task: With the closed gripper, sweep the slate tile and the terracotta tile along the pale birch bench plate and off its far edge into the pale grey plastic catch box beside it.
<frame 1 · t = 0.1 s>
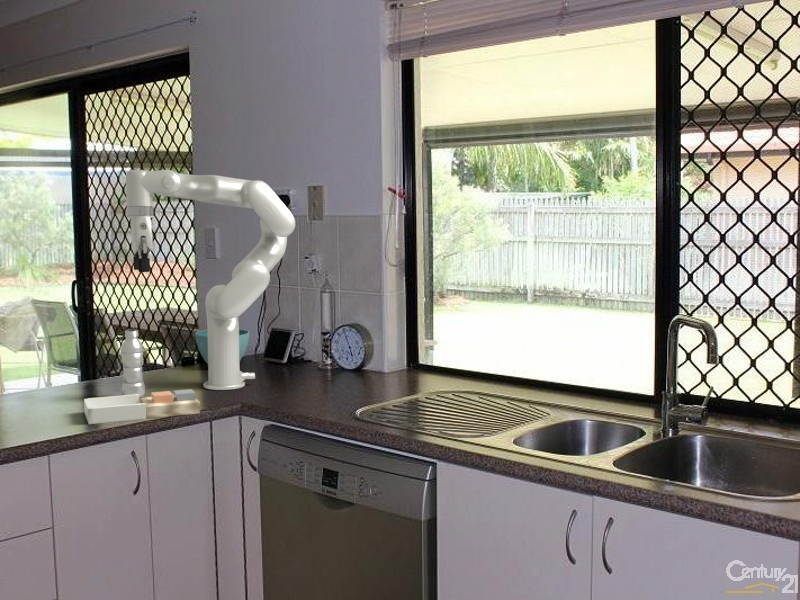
hand: (141, 270, 259), 37 cm above the worktop, tool pointing down, fingers open, 9 cm apart
teal bowl: (223, 367, 305), on the worktop
bench plate: (170, 410, 241), on the worktop
catch box: (114, 415, 235), on the worktop
plastic bottle: (133, 398, 256), on the worktop
slate tile: (184, 398, 242), point 3 cm above the worktop, touching bench plate
terracotta tile: (162, 400, 240), point 3 cm above the worktop, touching bench plate
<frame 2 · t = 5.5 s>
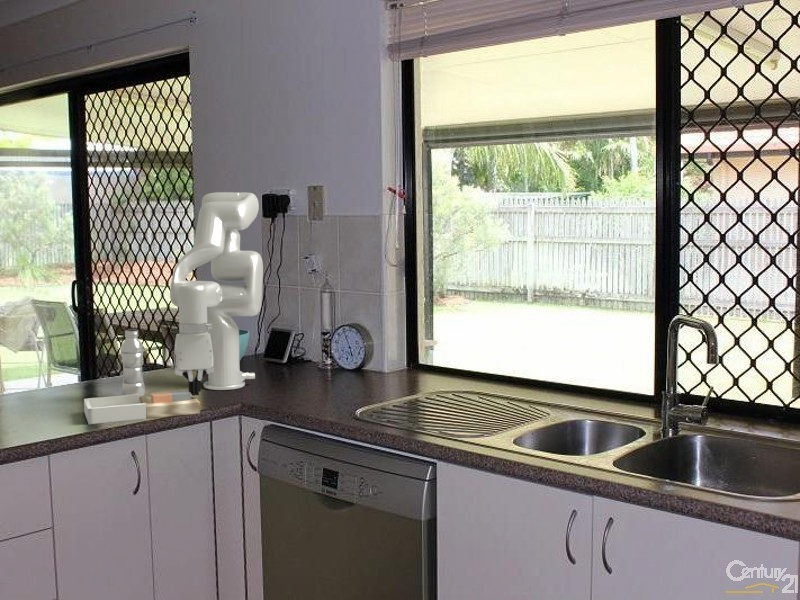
hand: (194, 394, 243), 4 cm above the worktop, tool pointing down, fingers closed
slate tile: (180, 399, 242), point 3 cm above the worktop, touching bench plate, gripper
everything else where it was.
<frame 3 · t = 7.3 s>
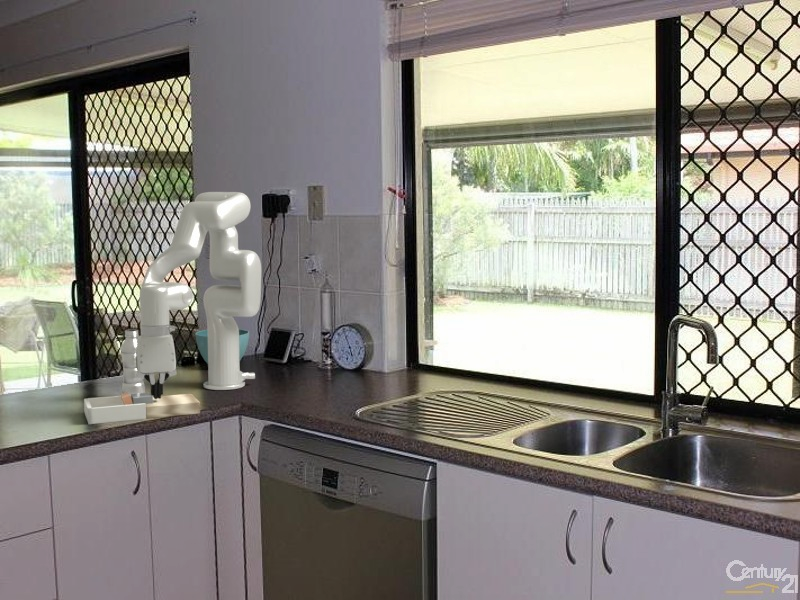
hand: (157, 397, 239), 4 cm above the worktop, tool pointing down, fingers closed
slate tile: (141, 402, 237), point 3 cm above the worktop, touching bench plate, gripper
terracotta tile: (131, 401, 236), point 3 cm above the worktop, tilted 106°, touching catch box
everything else where it was.
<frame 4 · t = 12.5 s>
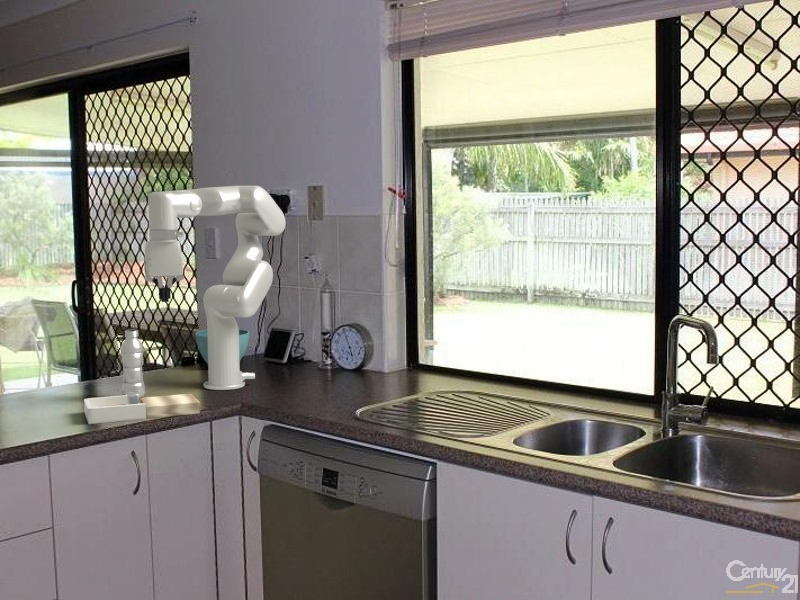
hand: (164, 301, 247), 29 cm above the worktop, tool pointing down, fingers closed
slate tile: (136, 403, 237), point 3 cm above the worktop, tilted 90°, touching catch box
terracotta tile: (117, 406, 235), point 2 cm above the worktop, tilted 180°, touching catch box
everything else where it was.
at the end: slate tile inside the target area on the catch box (5.2 cm from its centre), point 2.9 cm above the catch box's base; terracotta tile inside the target area on the catch box (0.3 cm from its centre), point 2.4 cm above the catch box's base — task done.
